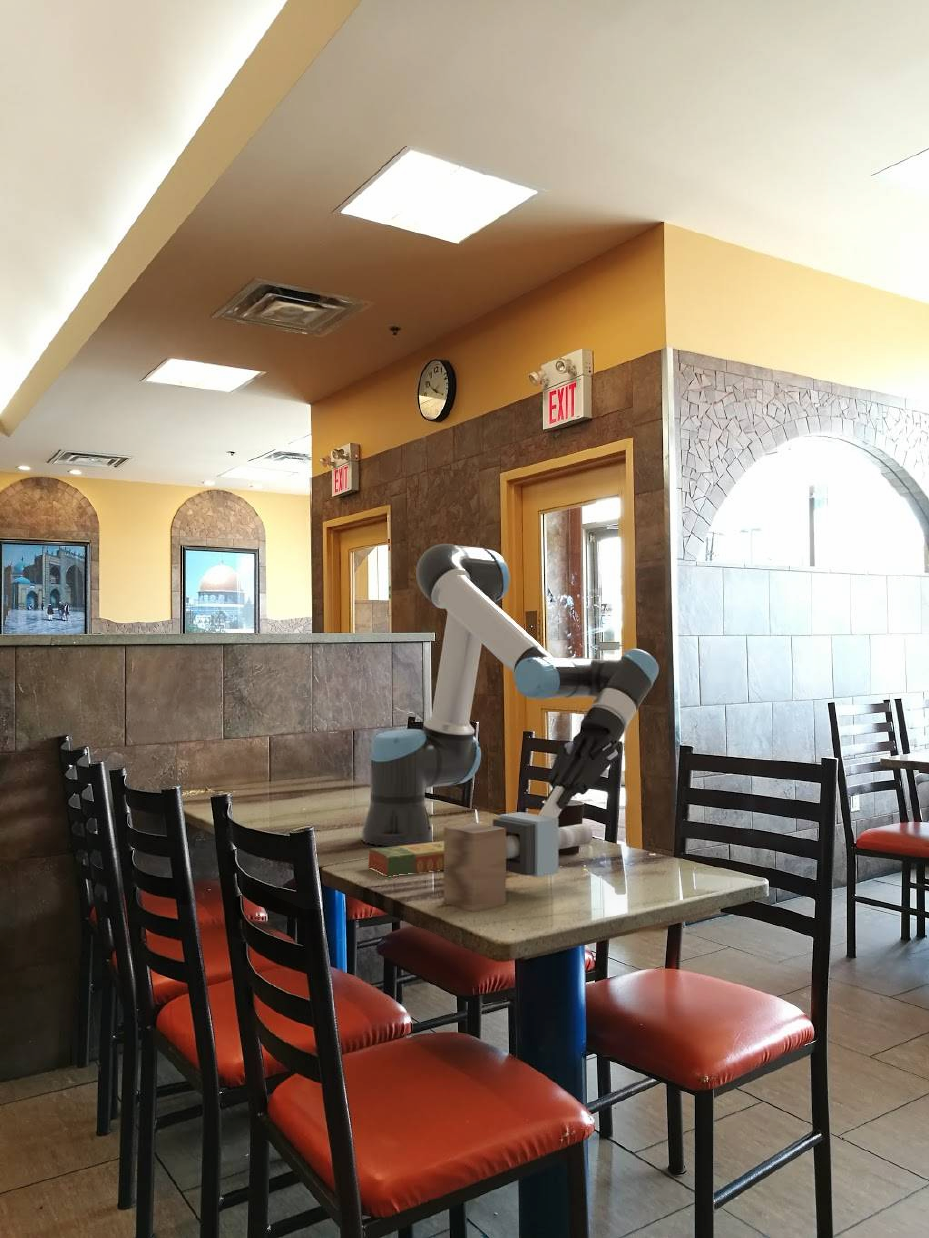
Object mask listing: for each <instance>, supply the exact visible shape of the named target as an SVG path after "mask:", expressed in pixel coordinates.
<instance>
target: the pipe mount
mask: <svg viewBox="0 0 929 1238" xmlns="http://www.w3.org/2000/svg"><path fill="white" fill-rule="evenodd" d="M443 831H444V832H443V836H444V837H443V841H444V871H443V903H444V904H447V905H449V906H453V907H456V908H460V909H463V910H465V911H466V910H467V911H469V912H473V913H474V912H477V911H478V912H479V911H482V910H486V909H491V908H495V907H499V906H503V905H507V904H506V903H507V902H506V901H507V900H506V898H507V897H506V894H507V893H506V891H507V890H506V889H507V883H506V881H507V871H506V859H509V858H519V857H520V834H511V835H508V836H506V828H502V827H497V826H493V824H492V825H491V824H485V823H481V822H470V823H464V824H458V825H457V824H456V825H450V826H444V828H443ZM592 840H593V831H592V828H591V827H590V826H589V824H587V823H582V824H578V825H572V826H566V827H559V828H558V849H563V848H568V847H574V846H579V845H580V846H583V845H584V846H585V845H588V844H590V843H591V842H592Z"/></svg>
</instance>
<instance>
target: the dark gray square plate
mask: <svg viewBox="0 0 929 1238" xmlns="http://www.w3.org/2000/svg"><path fill="white" fill-rule="evenodd" d="M492 826H497V827H502V828H506V836H508V832H510V833H515V834H520V860H516V859H511V858H509V859H506V872H509V873H514V874H518V875H522V876H529V875H532V874H535V824H530V823H525V822H519V821H514V820H508V819H503V818H494V819H492Z"/></svg>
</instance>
